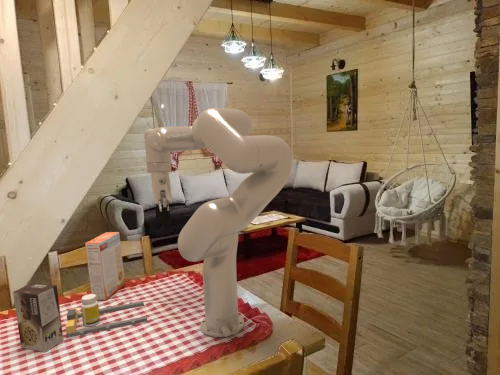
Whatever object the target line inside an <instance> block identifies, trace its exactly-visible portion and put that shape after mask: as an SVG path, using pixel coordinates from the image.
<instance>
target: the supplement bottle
mask: <svg viewBox="0 0 500 375" xmlns="http://www.w3.org/2000/svg"><path fill="white" fill-rule="evenodd" d="M80 308H81V312H82V318H81V320H82V324H83V326H84V327H94V326H97V324H99V323H100V321H101V318H100V314H99V309H100V308H99V300H96V295H95V294H91V293H88V294H85V295H82V297H81V305H80Z"/></svg>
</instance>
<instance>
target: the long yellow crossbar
mask: <svg viewBox="0 0 500 375" xmlns="http://www.w3.org/2000/svg"><path fill="white" fill-rule="evenodd" d="M78 313H79V312H78V307H75V308H74V307H73V308H70V309H68V310H67V313H66V325H65V333H66V334H67V333H72V332H74V331H75V330H77V326H78V325H77V324H78V319H79V318H78Z"/></svg>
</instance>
